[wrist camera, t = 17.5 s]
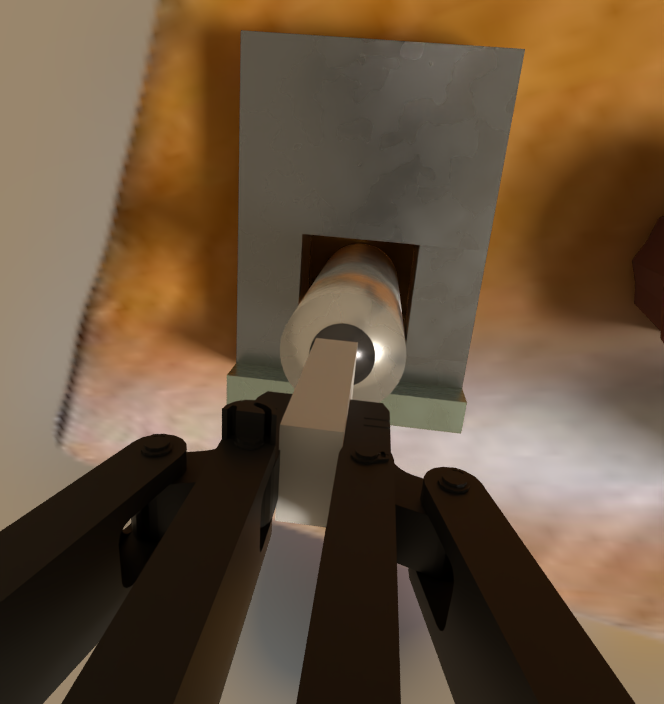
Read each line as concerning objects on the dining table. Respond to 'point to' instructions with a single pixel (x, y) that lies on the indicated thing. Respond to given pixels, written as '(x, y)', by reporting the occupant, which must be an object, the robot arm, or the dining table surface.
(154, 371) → the dining table surface
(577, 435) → the dining table surface
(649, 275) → the muffin
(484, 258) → the jig
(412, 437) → the dining table surface
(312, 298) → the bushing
